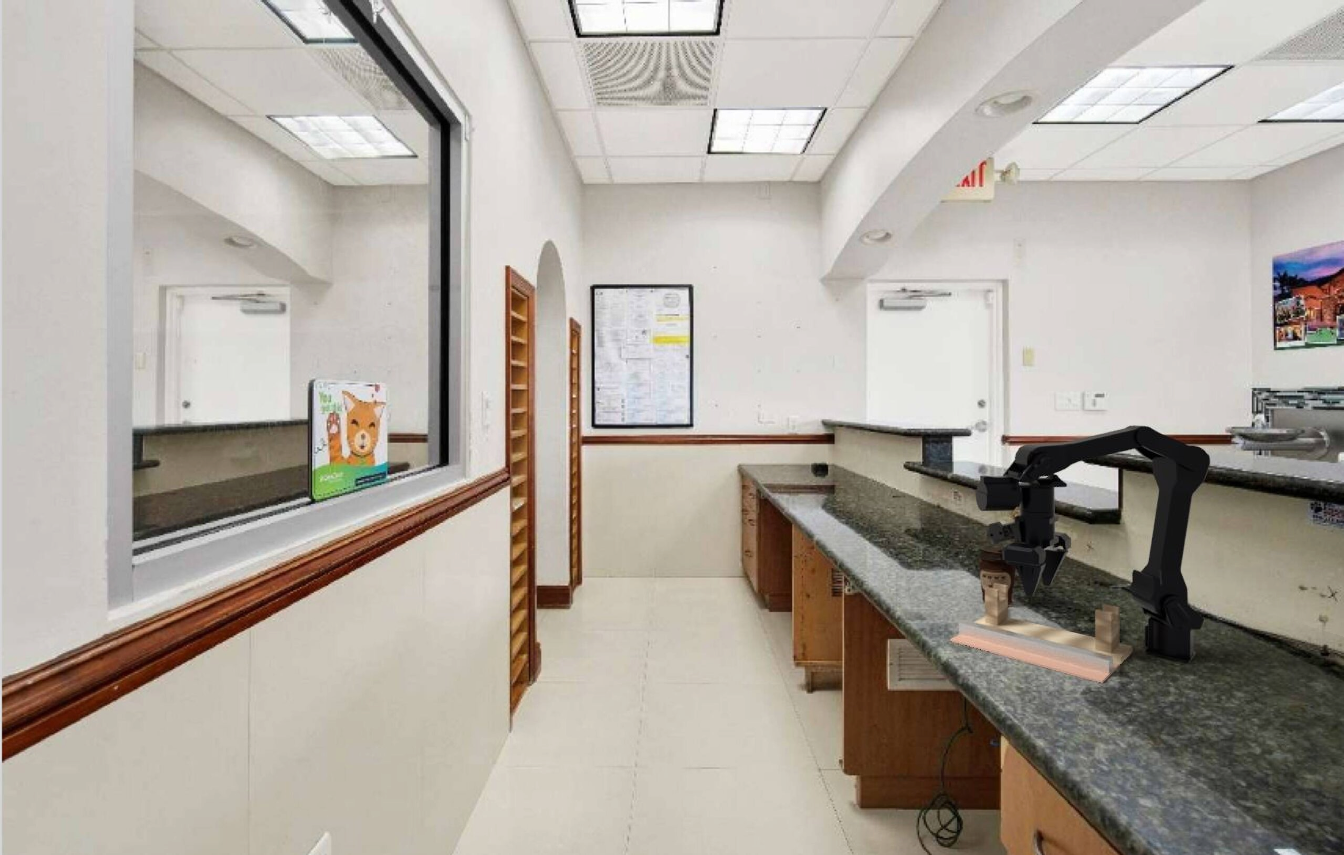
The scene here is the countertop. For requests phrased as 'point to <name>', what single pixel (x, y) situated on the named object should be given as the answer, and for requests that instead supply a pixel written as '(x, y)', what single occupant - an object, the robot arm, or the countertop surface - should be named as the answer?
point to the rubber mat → (1035, 659)
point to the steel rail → (1038, 646)
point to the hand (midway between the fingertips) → (1038, 591)
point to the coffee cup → (995, 571)
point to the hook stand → (1101, 643)
